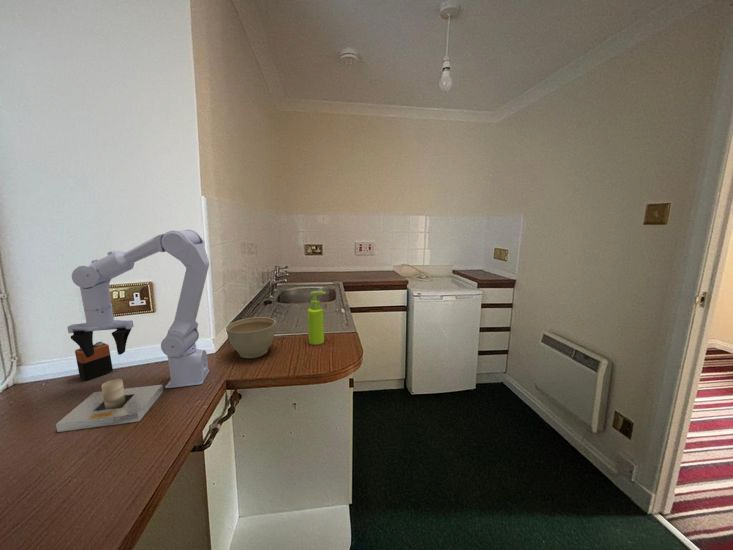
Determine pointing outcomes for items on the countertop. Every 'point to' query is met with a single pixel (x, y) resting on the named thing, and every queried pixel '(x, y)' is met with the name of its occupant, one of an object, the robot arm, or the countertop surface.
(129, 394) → the light grey flat block
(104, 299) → the robot arm
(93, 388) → the countertop surface
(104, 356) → the battery
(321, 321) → the soap dispenser
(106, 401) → the barrel peg
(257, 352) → the planter bowl
